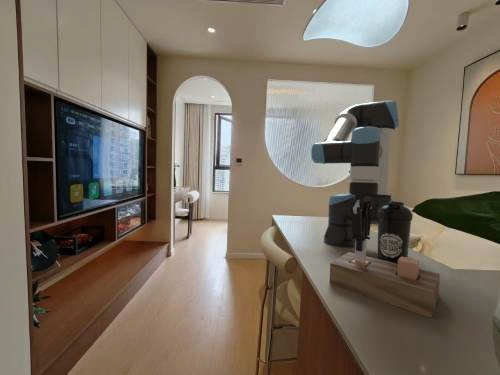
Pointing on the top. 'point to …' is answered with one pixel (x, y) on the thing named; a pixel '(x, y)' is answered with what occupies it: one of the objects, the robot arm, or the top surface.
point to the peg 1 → (360, 263)
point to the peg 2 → (408, 268)
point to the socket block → (387, 283)
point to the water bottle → (393, 231)
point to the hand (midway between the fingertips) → (360, 260)
